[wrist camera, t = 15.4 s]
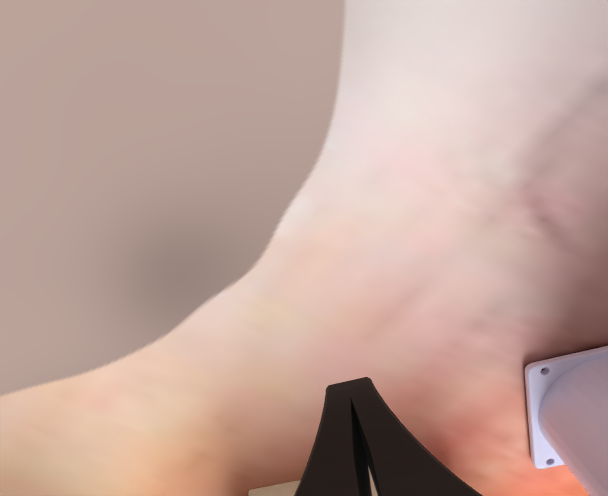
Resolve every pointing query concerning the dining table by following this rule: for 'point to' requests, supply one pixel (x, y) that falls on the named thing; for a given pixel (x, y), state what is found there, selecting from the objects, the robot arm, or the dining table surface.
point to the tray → (290, 489)
